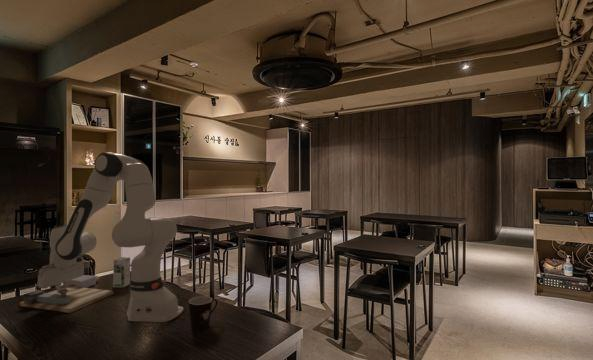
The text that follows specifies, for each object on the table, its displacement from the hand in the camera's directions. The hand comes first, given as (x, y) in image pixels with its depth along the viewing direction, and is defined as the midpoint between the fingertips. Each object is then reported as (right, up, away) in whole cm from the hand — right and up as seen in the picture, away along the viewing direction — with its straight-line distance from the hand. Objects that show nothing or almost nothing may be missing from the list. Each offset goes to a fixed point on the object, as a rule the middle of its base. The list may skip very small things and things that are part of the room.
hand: (61, 292), depth 150 cm
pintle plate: (+2, -4, +1) cm, 5 cm away
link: (-1, -2, -5) cm, 6 cm away
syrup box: (+16, -4, +21) cm, 27 cm away
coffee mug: (+71, -5, -23) cm, 75 cm away
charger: (-3, -4, +22) cm, 23 cm away
